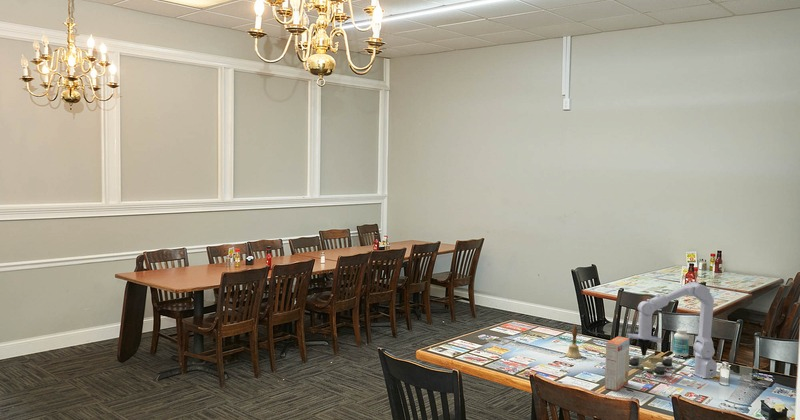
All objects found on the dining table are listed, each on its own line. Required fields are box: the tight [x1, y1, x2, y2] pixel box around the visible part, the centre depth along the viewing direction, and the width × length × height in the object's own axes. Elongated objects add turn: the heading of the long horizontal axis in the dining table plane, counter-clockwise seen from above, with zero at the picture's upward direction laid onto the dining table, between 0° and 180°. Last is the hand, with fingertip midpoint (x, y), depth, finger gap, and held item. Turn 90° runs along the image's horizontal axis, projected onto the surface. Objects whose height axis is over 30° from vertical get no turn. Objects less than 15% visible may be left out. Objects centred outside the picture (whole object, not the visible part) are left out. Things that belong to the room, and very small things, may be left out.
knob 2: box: [648, 355, 673, 366], centre depth 314 cm, size 11×5×4 cm, turn 79°
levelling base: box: [629, 362, 674, 378], centre depth 309 cm, size 20×21×2 cm
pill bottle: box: [672, 328, 690, 358], centre depth 335 cm, size 8×7×14 cm
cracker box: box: [604, 336, 630, 392], centre depth 285 cm, size 14×6×21 cm, turn 141°
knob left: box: [641, 361, 666, 374], centre depth 303 cm, size 11×5×4 cm, turn 40°
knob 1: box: [629, 355, 640, 366], centre depth 315 cm, size 11×5×4 cm, turn 65°
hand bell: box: [564, 325, 583, 359], centre depth 329 cm, size 8×8×16 cm
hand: (643, 355), depth 304 cm, fingers closed
